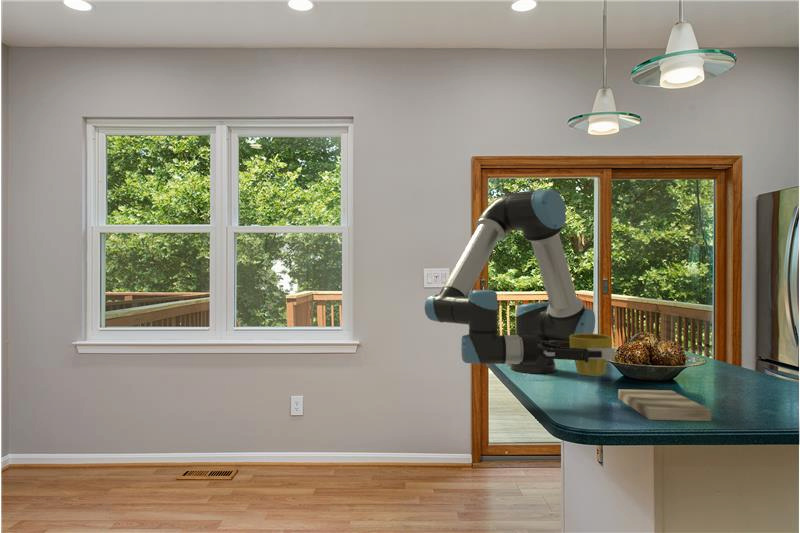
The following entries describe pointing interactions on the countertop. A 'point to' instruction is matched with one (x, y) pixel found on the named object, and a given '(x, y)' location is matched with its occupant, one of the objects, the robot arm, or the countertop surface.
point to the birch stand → (664, 405)
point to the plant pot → (590, 341)
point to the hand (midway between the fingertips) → (606, 350)
